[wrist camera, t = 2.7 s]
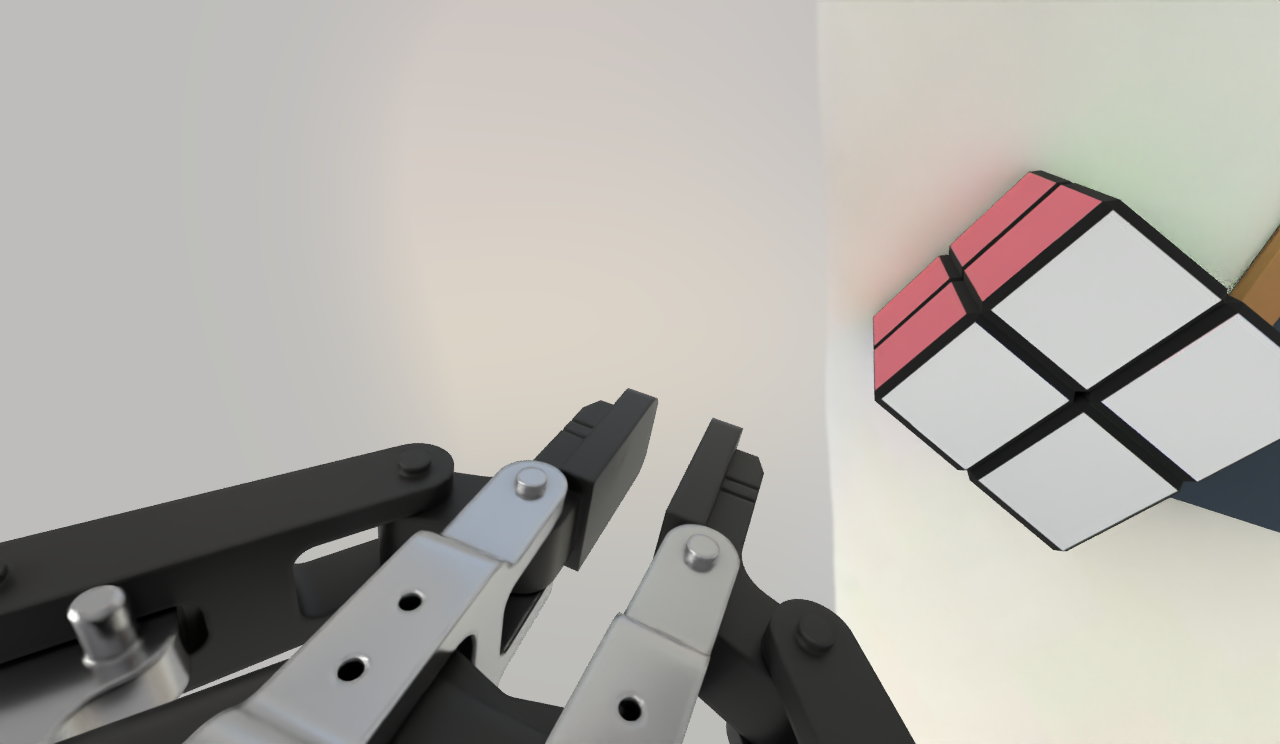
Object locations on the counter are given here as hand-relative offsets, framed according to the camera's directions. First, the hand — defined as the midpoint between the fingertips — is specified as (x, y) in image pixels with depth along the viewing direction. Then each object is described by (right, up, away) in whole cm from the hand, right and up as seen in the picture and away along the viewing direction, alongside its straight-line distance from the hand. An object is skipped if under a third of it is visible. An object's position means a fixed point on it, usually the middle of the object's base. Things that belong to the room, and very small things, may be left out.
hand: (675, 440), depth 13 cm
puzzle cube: (+18, +5, +15) cm, 24 cm away
